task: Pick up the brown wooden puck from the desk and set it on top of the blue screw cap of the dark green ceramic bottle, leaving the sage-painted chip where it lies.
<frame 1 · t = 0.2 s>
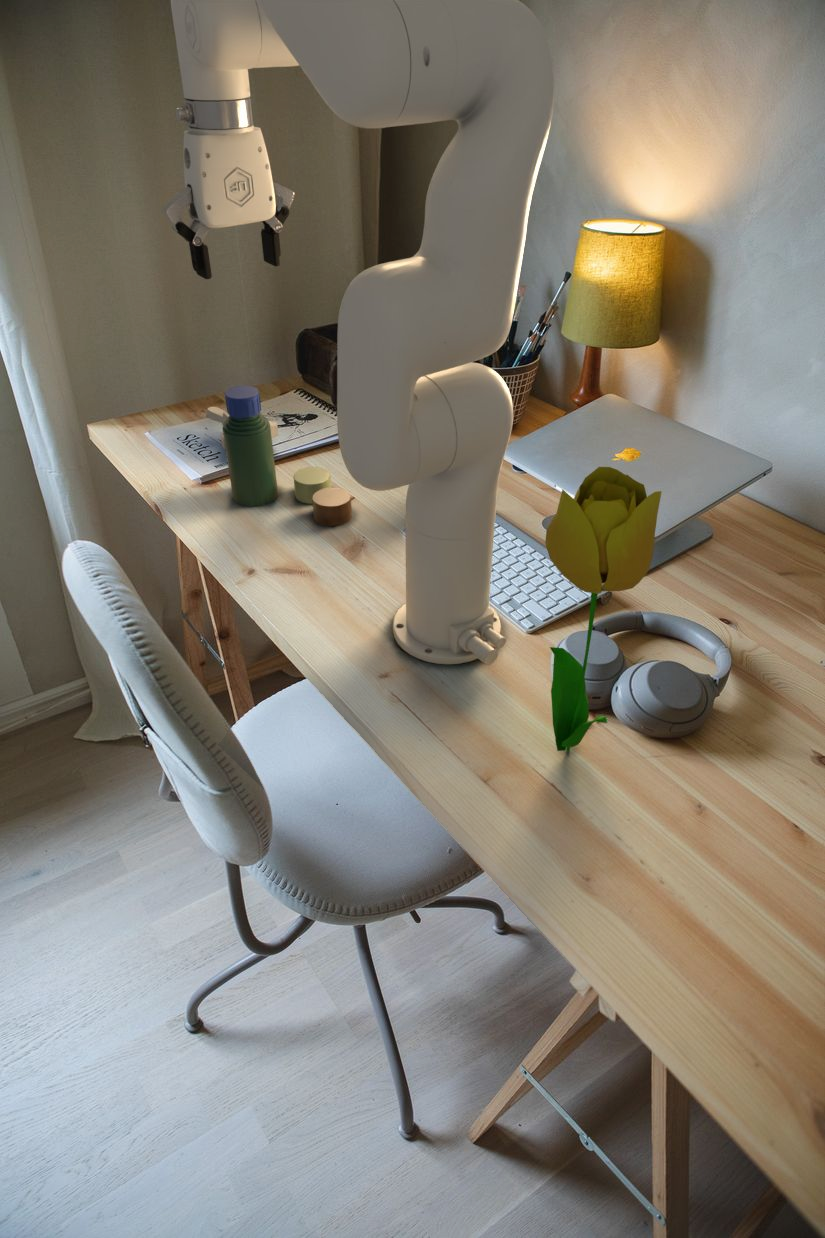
hand: (238, 270, 106), 31 cm above the table, tool pointing down, fingers open, 9 cm apart
bunny figurine: (245, 442, 136), on the table
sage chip: (313, 494, 122), on the table
flower: (567, 751, 82), on the table
cap: (242, 395, 113), point 15 cm above the table, screwed on, not yet turned
bottle: (255, 495, 122), on the table
brown wooden puck: (332, 516, 117), on the table
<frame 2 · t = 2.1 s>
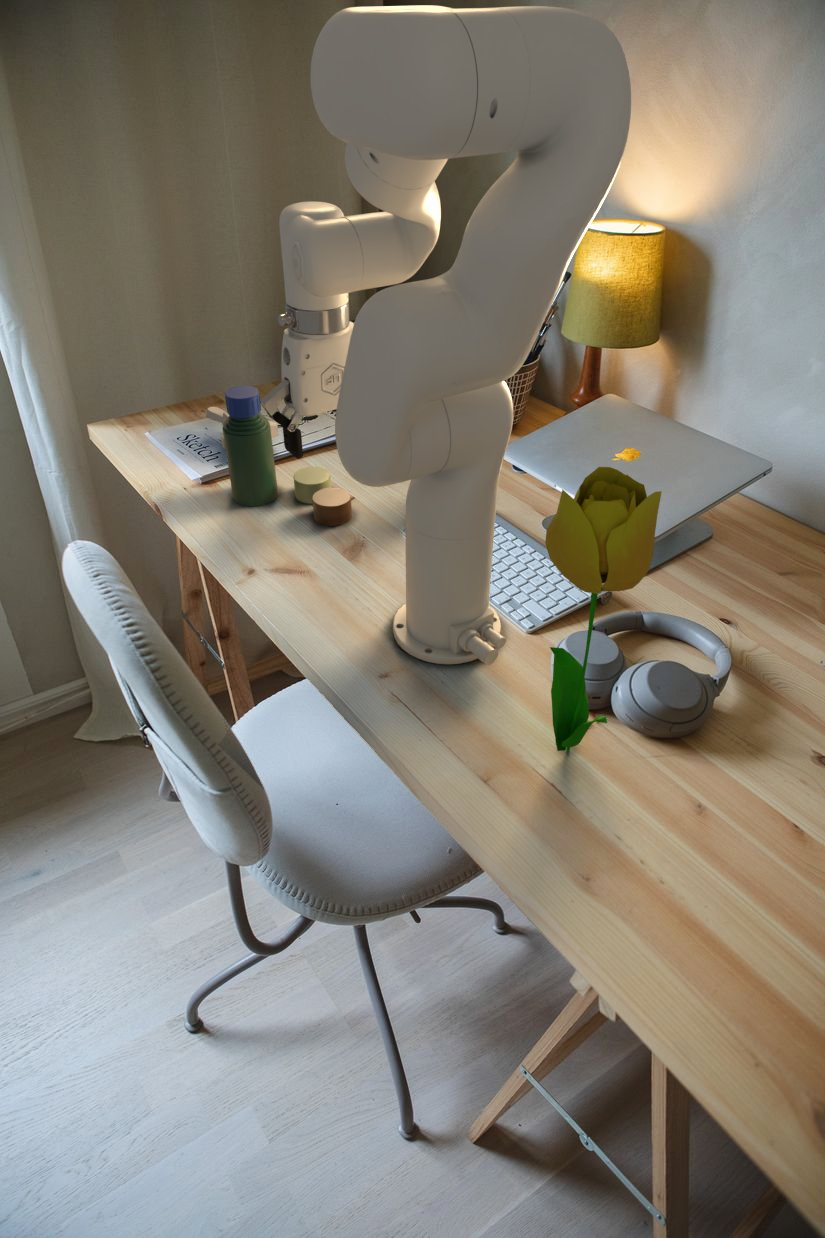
hand: (326, 444, 111), 11 cm above the table, tool pointing down, fingers open, 9 cm apart
nothing on the table moved.
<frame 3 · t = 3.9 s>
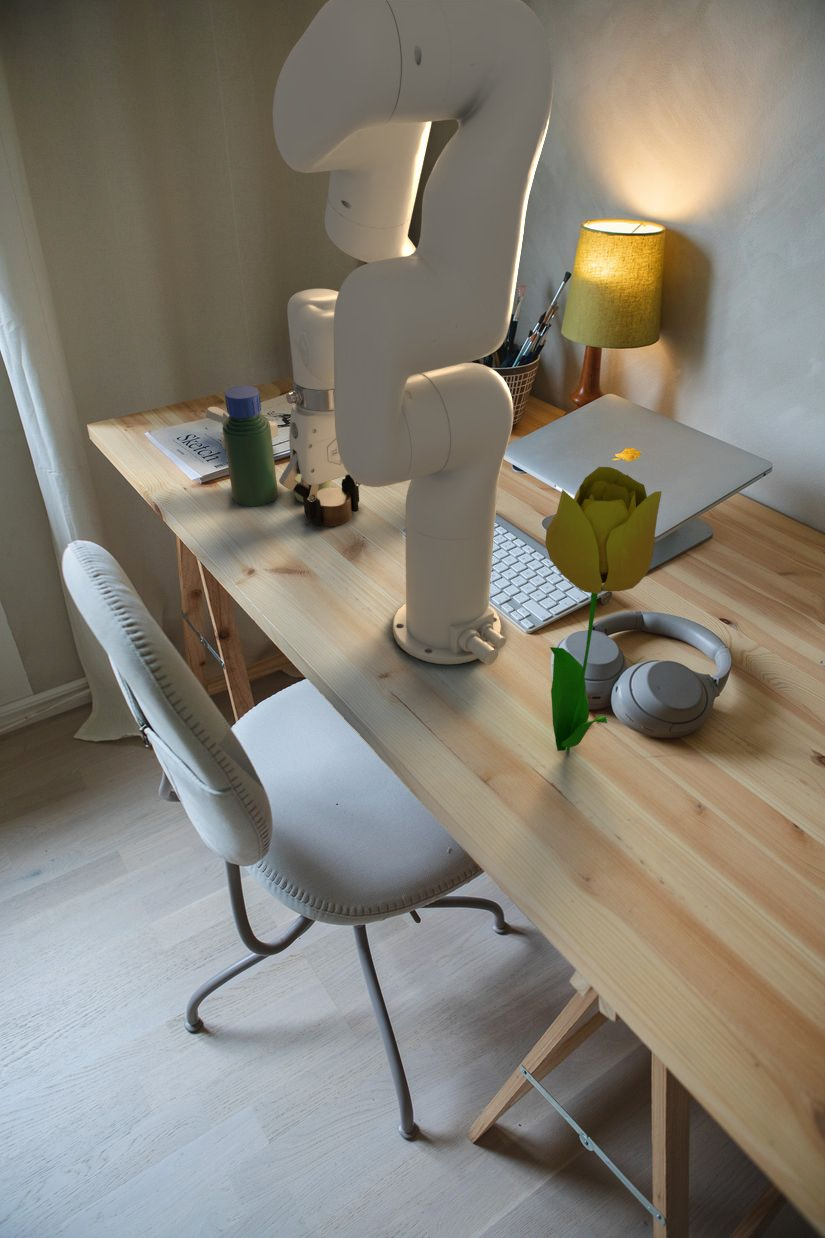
hand: (332, 513, 117), 0 cm above the table, tool pointing down, fingers closed on brown wooden puck, 5 cm apart
brown wooden puck: (332, 516, 117), on the table, touching gripper
everything else where it was.
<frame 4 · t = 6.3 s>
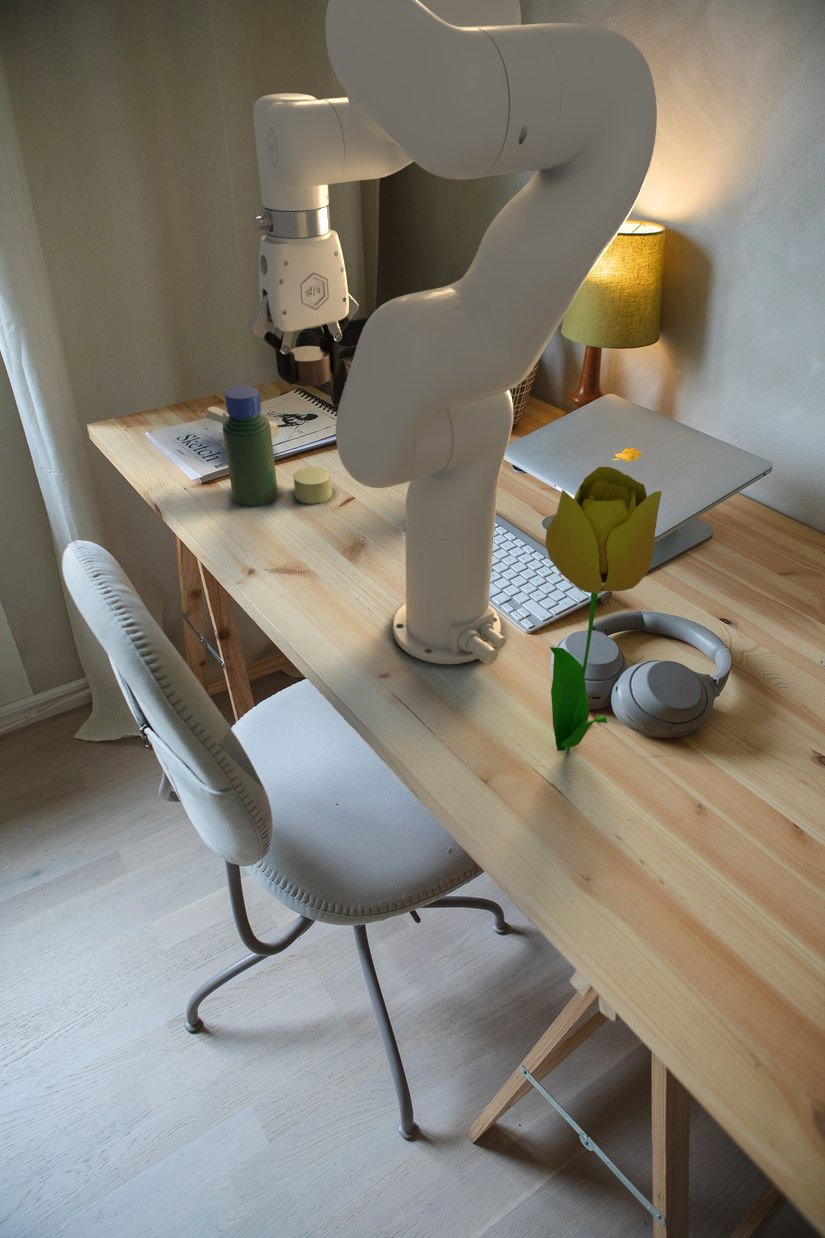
hand: (309, 374, 105), 21 cm above the table, tool pointing down, fingers closed on brown wooden puck, 5 cm apart
brown wooden puck: (309, 378, 106), point 20 cm above the table, touching gripper
everything else where it was.
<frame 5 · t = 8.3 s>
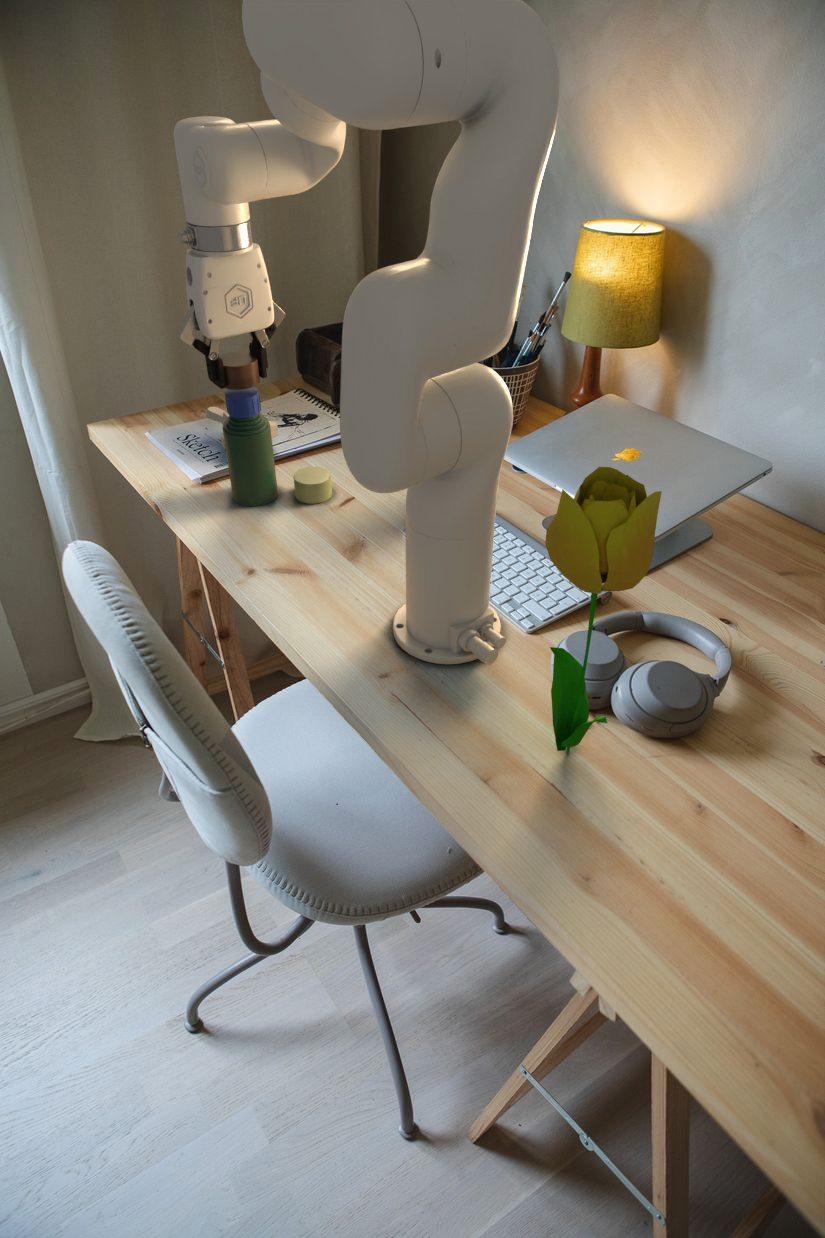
hand: (239, 378, 111), 18 cm above the table, tool pointing down, fingers closed on brown wooden puck, 5 cm apart
brown wooden puck: (239, 382, 111), point 17 cm above the table, touching gripper
everything else where it was.
when the fingers open (16 cm above the table, at t = 9.2 s): brown wooden puck stays where it is, resting on cap.
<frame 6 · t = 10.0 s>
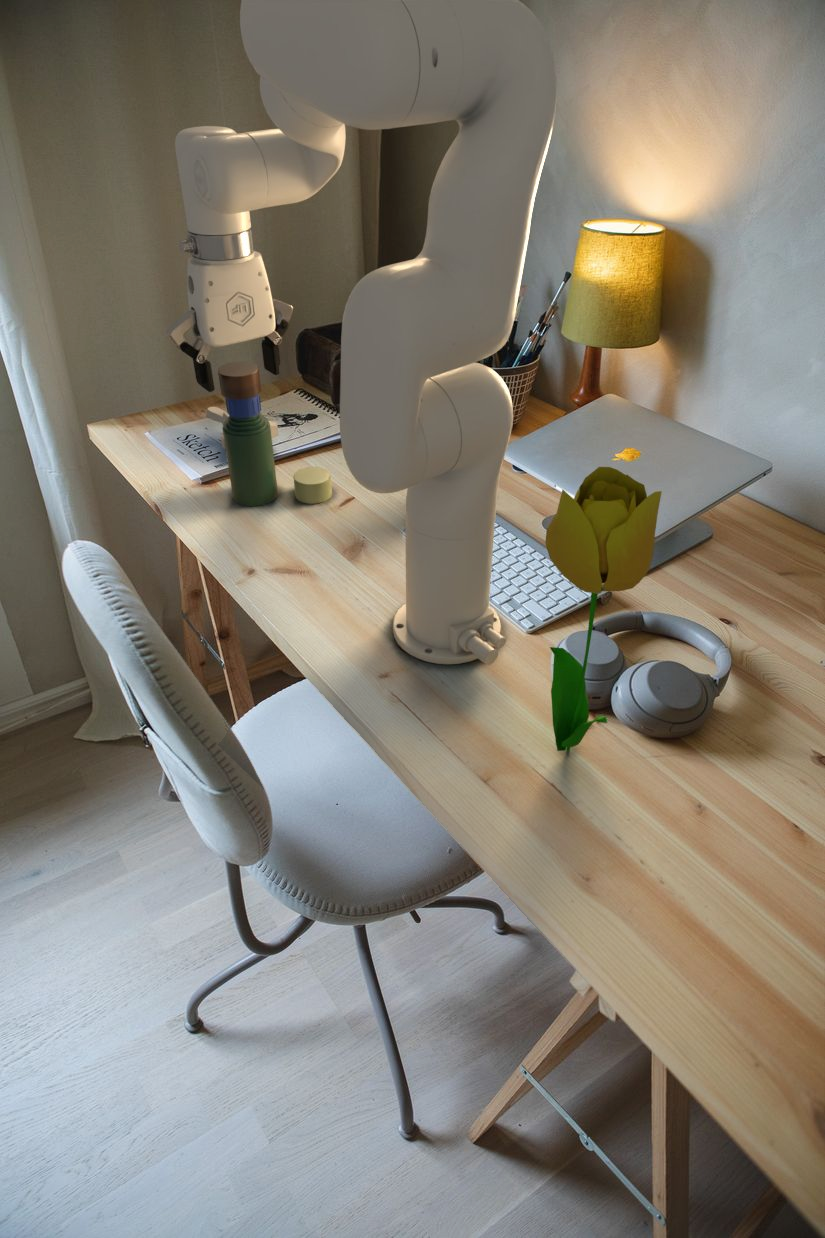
hand: (240, 380, 111), 18 cm above the table, tool pointing down, fingers open, 9 cm apart
cap: (242, 395, 113), point 15 cm above the table, screwed on, not yet turned, touching brown wooden puck
brown wooden puck: (241, 391, 112), point 16 cm above the table, touching cap
everything else where it was.
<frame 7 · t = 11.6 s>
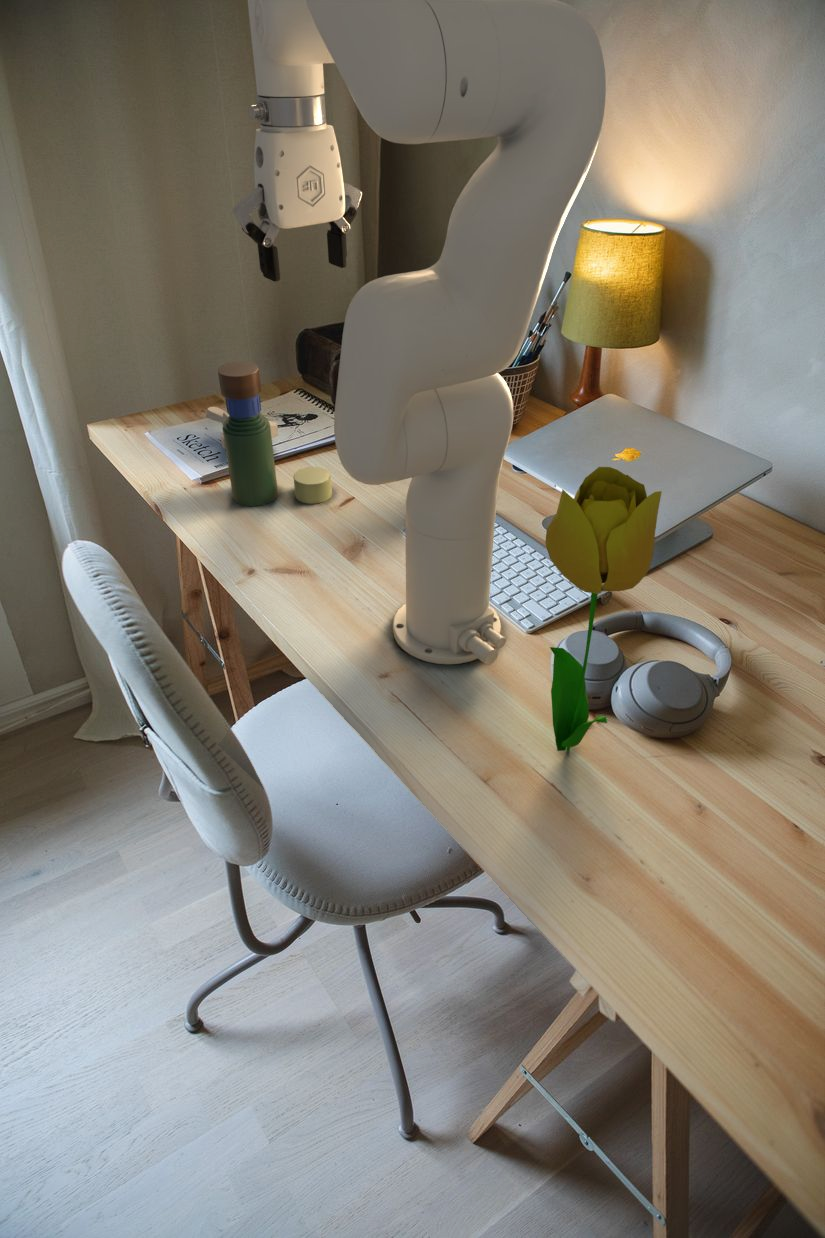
hand: (305, 272, 104), 31 cm above the table, tool pointing down, fingers open, 9 cm apart
nothing on the table moved.
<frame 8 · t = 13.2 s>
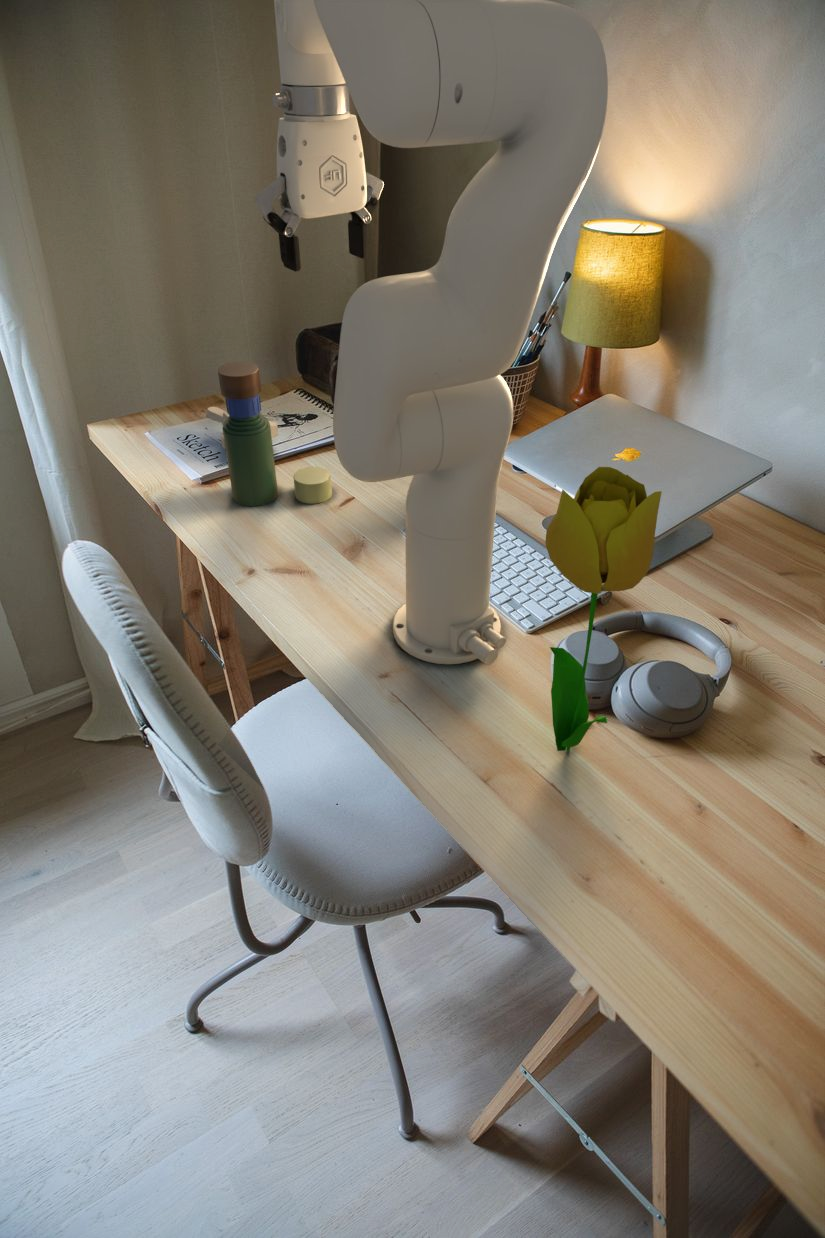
hand: (325, 262, 104), 32 cm above the table, tool pointing down, fingers open, 9 cm apart
nothing on the table moved.
at the end: brown wooden puck 0.1 cm off-centre on the bottle, point 16.0 cm above the bottle's base; brown wooden puck touching cap; brown wooden puck tilted 0° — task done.
